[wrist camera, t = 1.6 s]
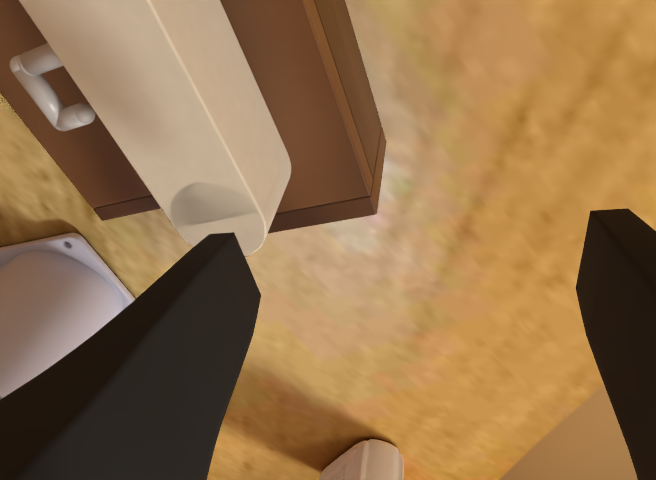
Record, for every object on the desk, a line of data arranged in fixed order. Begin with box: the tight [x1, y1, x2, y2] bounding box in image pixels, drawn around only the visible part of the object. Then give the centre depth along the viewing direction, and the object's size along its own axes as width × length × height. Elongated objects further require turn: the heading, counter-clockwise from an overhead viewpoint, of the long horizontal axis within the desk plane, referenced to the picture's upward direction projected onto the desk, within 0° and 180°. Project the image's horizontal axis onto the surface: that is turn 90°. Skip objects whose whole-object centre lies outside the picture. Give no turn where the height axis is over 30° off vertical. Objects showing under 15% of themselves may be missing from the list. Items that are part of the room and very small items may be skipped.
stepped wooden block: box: [0, 0, 386, 233], centre depth 15 cm, size 15×16×5 cm
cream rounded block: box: [10, 0, 291, 257], centre depth 12 cm, size 6×13×3 cm, turn 19°
